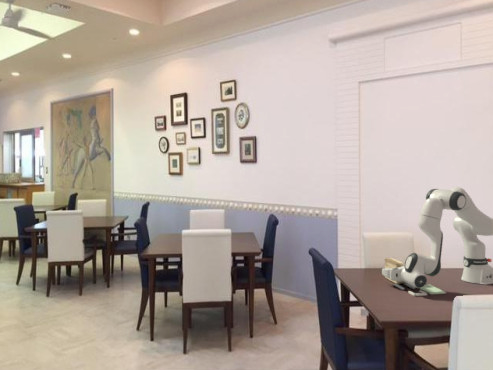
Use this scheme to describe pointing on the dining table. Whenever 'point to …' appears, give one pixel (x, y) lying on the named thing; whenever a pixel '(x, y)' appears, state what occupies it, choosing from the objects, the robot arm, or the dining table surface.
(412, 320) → the dining table surface
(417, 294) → the trap pen
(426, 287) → the pad
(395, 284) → the track
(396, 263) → the board
